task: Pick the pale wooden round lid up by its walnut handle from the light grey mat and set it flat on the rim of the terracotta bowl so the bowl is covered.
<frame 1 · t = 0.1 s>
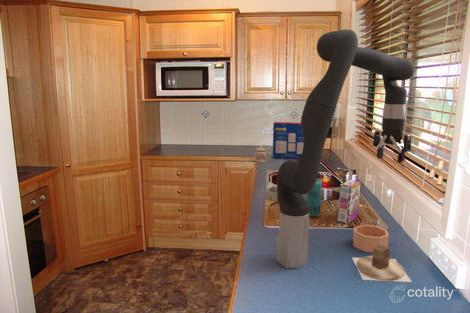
hand: (389, 160, 134), 29 cm above the countertop, tool pointing down, fingers open, 8 cm apart
candy bar box: (347, 219, 155), on the countertop
teacup with lid: (262, 161, 273), on the countertop
lid: (379, 268, 112), point 1 cm above the countertop, touching mat
beverage bottle: (312, 217, 158), on the countertop
mat: (379, 270, 112), on the countertop
blue flat square box: (290, 158, 284), on the countertop
bowl: (369, 246, 129), on the countertop
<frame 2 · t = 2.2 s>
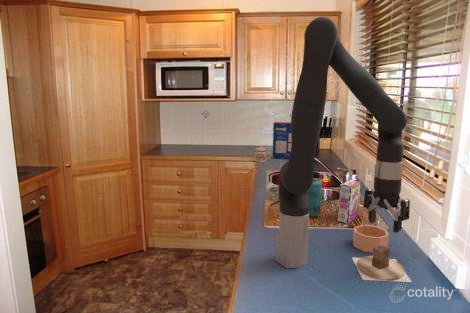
hand: (384, 227, 110), 14 cm above the countertop, tool pointing down, fingers open, 8 cm apart
nothing on the countertop moved.
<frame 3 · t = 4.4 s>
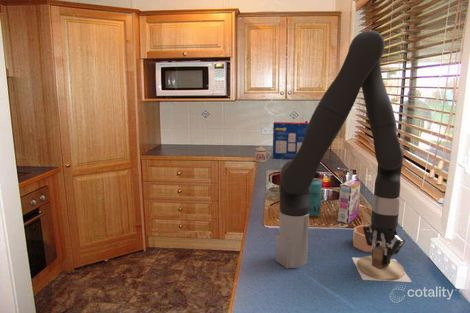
hand: (380, 262, 112), 3 cm above the countertop, tool pointing down, fingers closed on lid, 3 cm apart
lid: (379, 268, 112), point 1 cm above the countertop, touching gripper
everything else where it was.
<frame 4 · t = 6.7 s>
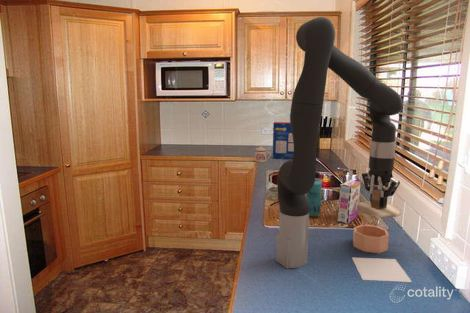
hand: (378, 205, 120), 17 cm above the countertop, tool pointing down, fingers closed on lid, 3 cm apart
lid: (378, 210, 120), point 16 cm above the countertop, touching gripper
everything else where it was.
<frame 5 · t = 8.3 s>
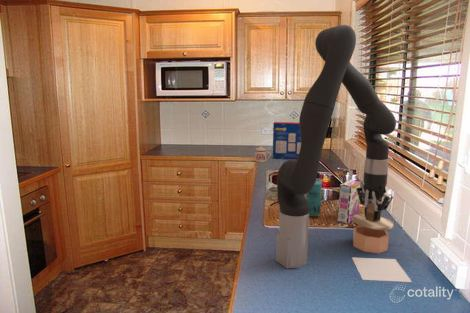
hand: (372, 218, 127), 11 cm above the countertop, tool pointing down, fingers closed on lid, 3 cm apart
lid: (372, 222, 127), point 9 cm above the countertop, tilted 5°, touching gripper
everything else where it was.
when the fingers open (10 cm above the countertop, at t = 9.2 s): lid drops 2 cm, resting on bowl.
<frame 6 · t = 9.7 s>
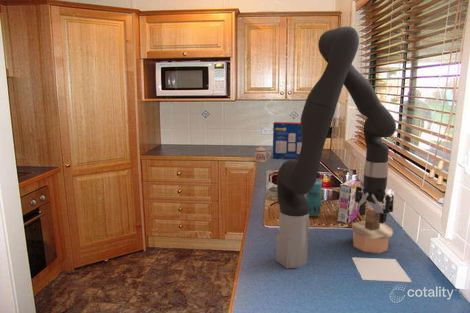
hand: (371, 219, 127), 11 cm above the countertop, tool pointing down, fingers open, 8 cm apart
lid: (371, 230, 128), point 6 cm above the countertop, touching bowl
everything else where it was.
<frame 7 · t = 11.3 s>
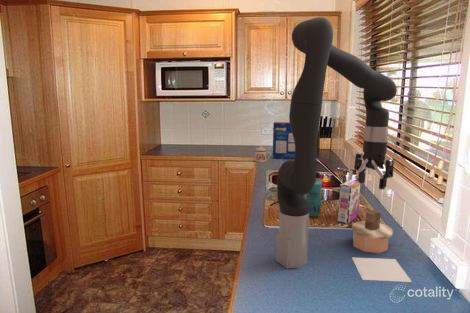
hand: (371, 185, 125), 22 cm above the countertop, tool pointing down, fingers open, 8 cm apart
nothing on the countertop moved.
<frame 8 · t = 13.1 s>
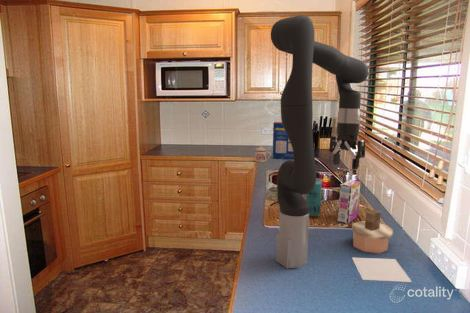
hand: (345, 166, 129), 28 cm above the countertop, tool pointing down, fingers open, 8 cm apart
nothing on the countertop moved.
at the end: lid 0.5 cm off-centre on the bowl, point 6.0 cm above the bowl's base; lid tilted 0°; the gripper is holding nothing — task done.
